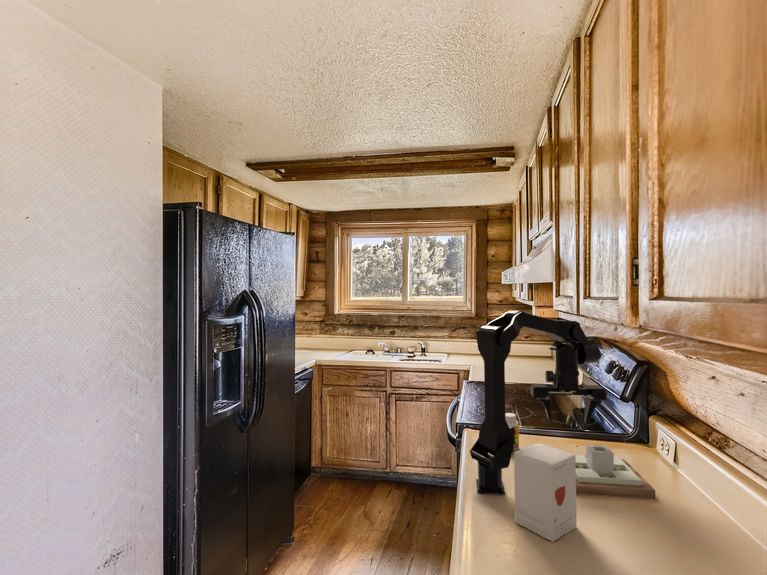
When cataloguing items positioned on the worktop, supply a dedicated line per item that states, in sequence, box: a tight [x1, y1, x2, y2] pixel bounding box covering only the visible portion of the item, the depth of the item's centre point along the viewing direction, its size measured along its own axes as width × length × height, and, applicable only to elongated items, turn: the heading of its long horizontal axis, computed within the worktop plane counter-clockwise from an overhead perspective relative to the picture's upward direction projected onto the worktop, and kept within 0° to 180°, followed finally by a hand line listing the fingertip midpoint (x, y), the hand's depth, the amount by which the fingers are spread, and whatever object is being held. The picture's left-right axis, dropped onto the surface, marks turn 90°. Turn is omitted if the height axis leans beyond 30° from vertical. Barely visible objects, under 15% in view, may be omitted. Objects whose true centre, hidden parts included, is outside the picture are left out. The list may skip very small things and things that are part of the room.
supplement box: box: [513, 442, 578, 542], centre depth 85 cm, size 9×9×15 cm
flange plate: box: [575, 444, 642, 486], centre depth 106 cm, size 14×14×6 cm
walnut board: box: [576, 450, 656, 500], centre depth 106 cm, size 18×18×7 cm
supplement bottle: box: [505, 412, 520, 451], centre depth 128 cm, size 6×6×10 cm
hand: (568, 422), depth 114 cm, fingers open, 9 cm apart
